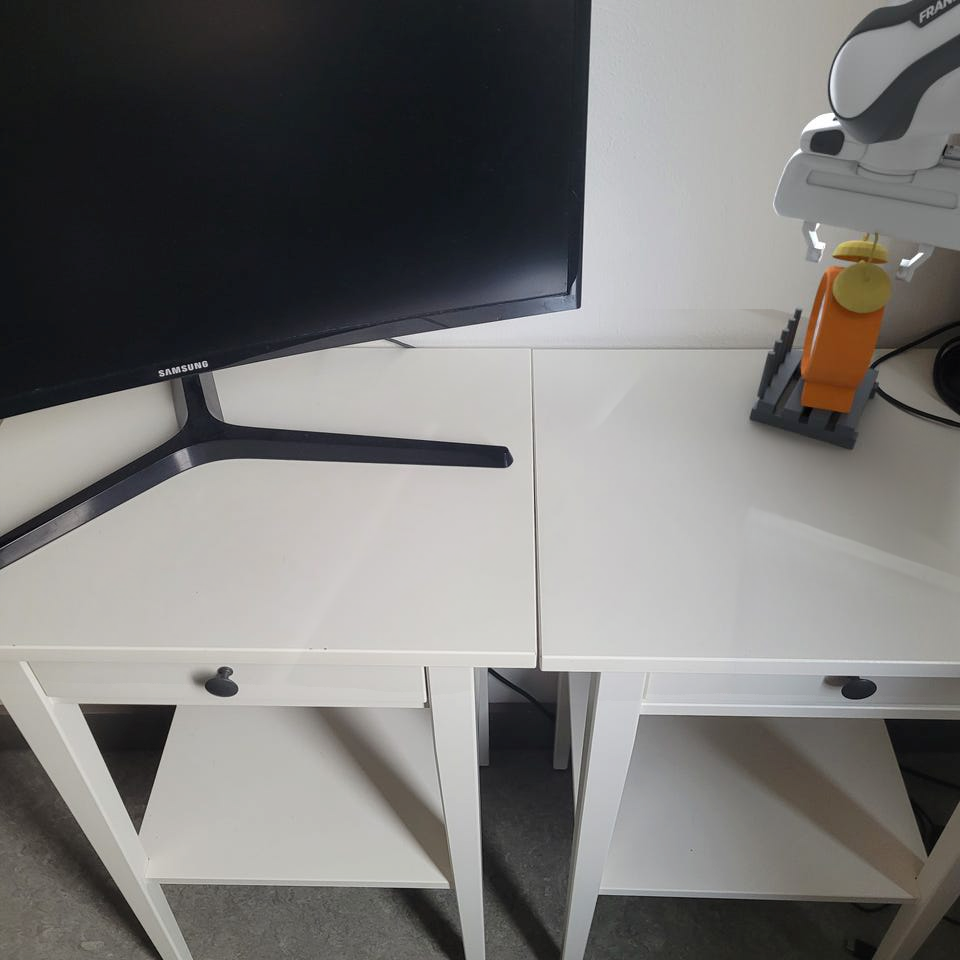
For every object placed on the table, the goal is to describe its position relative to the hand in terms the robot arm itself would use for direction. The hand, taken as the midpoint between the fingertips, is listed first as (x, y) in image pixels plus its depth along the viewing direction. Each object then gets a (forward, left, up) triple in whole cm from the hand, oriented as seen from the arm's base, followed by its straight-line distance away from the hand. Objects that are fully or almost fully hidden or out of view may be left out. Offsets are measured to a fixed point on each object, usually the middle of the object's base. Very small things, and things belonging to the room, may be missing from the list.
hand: (857, 269), depth 89 cm
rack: (0, 0, -18) cm, 18 cm away
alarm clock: (0, 0, -15) cm, 15 cm away
